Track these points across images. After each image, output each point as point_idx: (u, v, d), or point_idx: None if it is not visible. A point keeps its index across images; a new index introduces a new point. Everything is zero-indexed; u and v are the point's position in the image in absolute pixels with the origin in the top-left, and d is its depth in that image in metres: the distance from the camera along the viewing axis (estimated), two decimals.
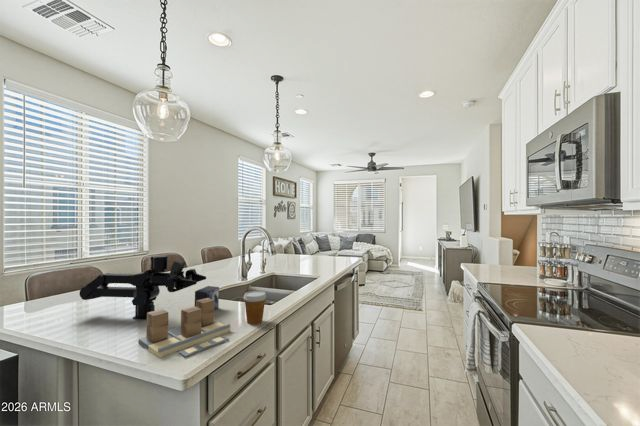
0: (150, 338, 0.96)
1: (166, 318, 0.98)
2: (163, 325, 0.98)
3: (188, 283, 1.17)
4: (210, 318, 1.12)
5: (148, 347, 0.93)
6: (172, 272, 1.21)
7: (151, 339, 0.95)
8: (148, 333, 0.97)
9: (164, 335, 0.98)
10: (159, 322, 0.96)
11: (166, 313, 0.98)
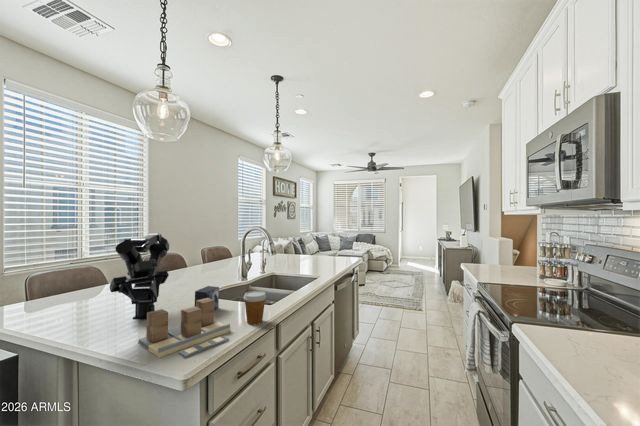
0: (150, 338, 0.96)
1: (166, 318, 0.98)
2: (163, 325, 0.98)
3: (130, 294, 1.02)
4: (210, 318, 1.12)
5: (148, 347, 0.93)
6: (133, 269, 1.06)
7: (151, 339, 0.95)
8: (148, 333, 0.97)
9: (164, 335, 0.98)
10: (159, 322, 0.96)
11: (166, 313, 0.98)
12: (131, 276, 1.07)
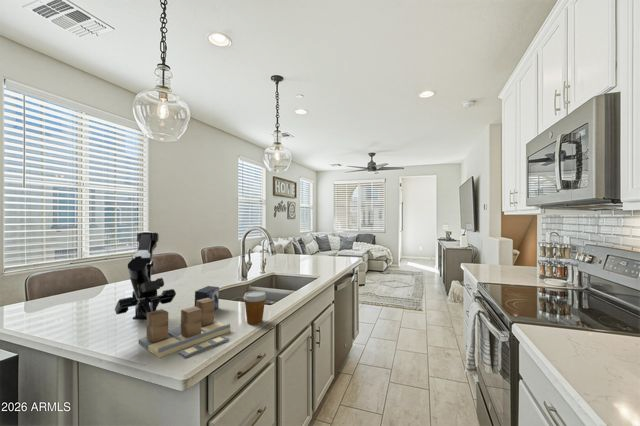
0: (150, 338, 0.96)
1: (166, 318, 0.98)
2: (163, 325, 0.98)
3: None
4: (210, 318, 1.12)
5: (148, 347, 0.93)
6: (140, 289, 1.01)
7: (151, 339, 0.95)
8: (148, 333, 0.97)
9: (164, 335, 0.98)
10: (159, 322, 0.96)
11: (166, 313, 0.98)
12: (137, 296, 1.02)
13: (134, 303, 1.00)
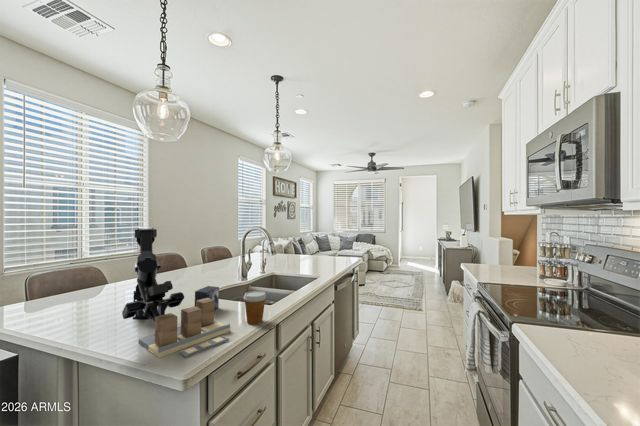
0: (159, 343, 0.92)
1: (175, 322, 0.94)
2: (172, 329, 0.94)
3: None
4: (210, 318, 1.12)
5: (148, 347, 0.93)
6: (147, 292, 0.98)
7: (160, 345, 0.91)
8: (156, 338, 0.93)
9: (173, 340, 0.94)
10: (167, 327, 0.92)
11: (175, 317, 0.94)
12: (145, 300, 0.98)
13: (142, 307, 0.96)
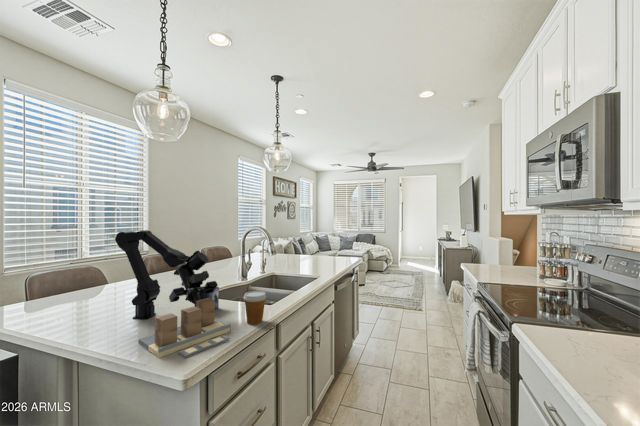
0: (159, 343, 0.92)
1: (175, 322, 0.94)
2: (172, 329, 0.94)
3: None
4: (210, 318, 1.12)
5: (148, 347, 0.93)
6: (189, 280, 1.16)
7: (160, 345, 0.91)
8: (156, 338, 0.93)
9: (173, 340, 0.94)
10: (167, 327, 0.92)
11: (175, 317, 0.94)
12: (186, 287, 1.16)
13: (185, 292, 1.14)
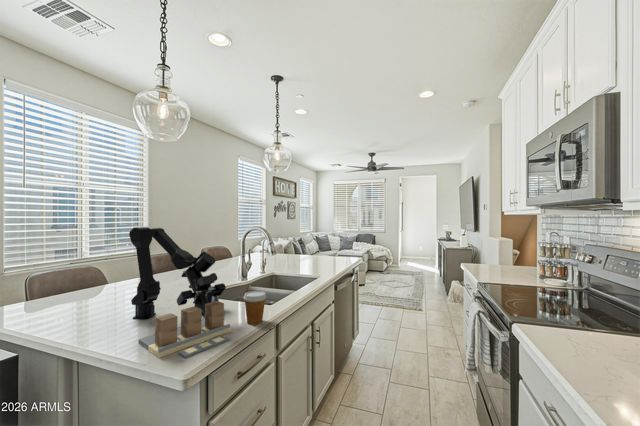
0: (159, 343, 0.92)
1: (175, 322, 0.94)
2: (172, 329, 0.94)
3: (204, 305, 1.11)
4: (220, 322, 1.08)
5: (148, 347, 0.93)
6: (197, 283, 1.12)
7: (160, 345, 0.91)
8: (156, 338, 0.93)
9: (173, 340, 0.94)
10: (167, 327, 0.92)
11: (175, 317, 0.94)
12: (194, 290, 1.13)
13: (192, 295, 1.10)
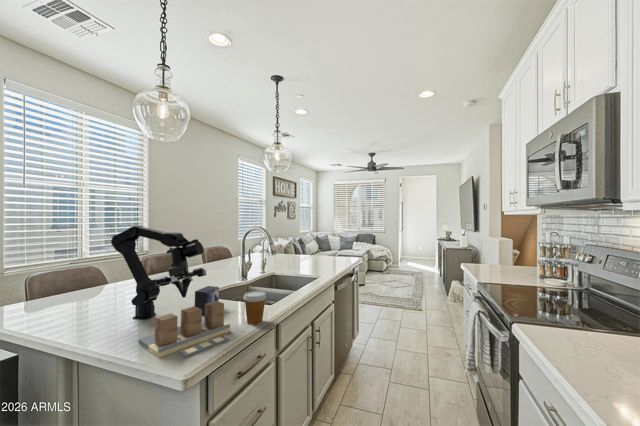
0: (159, 343, 0.92)
1: (175, 322, 0.94)
2: (172, 329, 0.94)
3: None
4: (220, 322, 1.08)
5: (148, 347, 0.93)
6: None
7: (160, 345, 0.91)
8: (156, 338, 0.93)
9: (173, 340, 0.94)
10: (167, 327, 0.92)
11: (175, 317, 0.94)
12: None
13: (170, 280, 1.17)
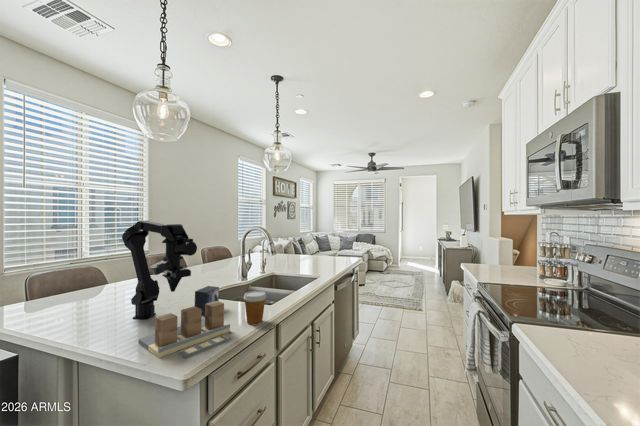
0: (159, 343, 0.92)
1: (175, 322, 0.94)
2: (172, 329, 0.94)
3: None
4: (220, 322, 1.08)
5: (148, 347, 0.93)
6: None
7: (160, 345, 0.91)
8: (156, 338, 0.93)
9: (173, 340, 0.94)
10: (167, 327, 0.92)
11: (175, 317, 0.94)
12: None
13: None
